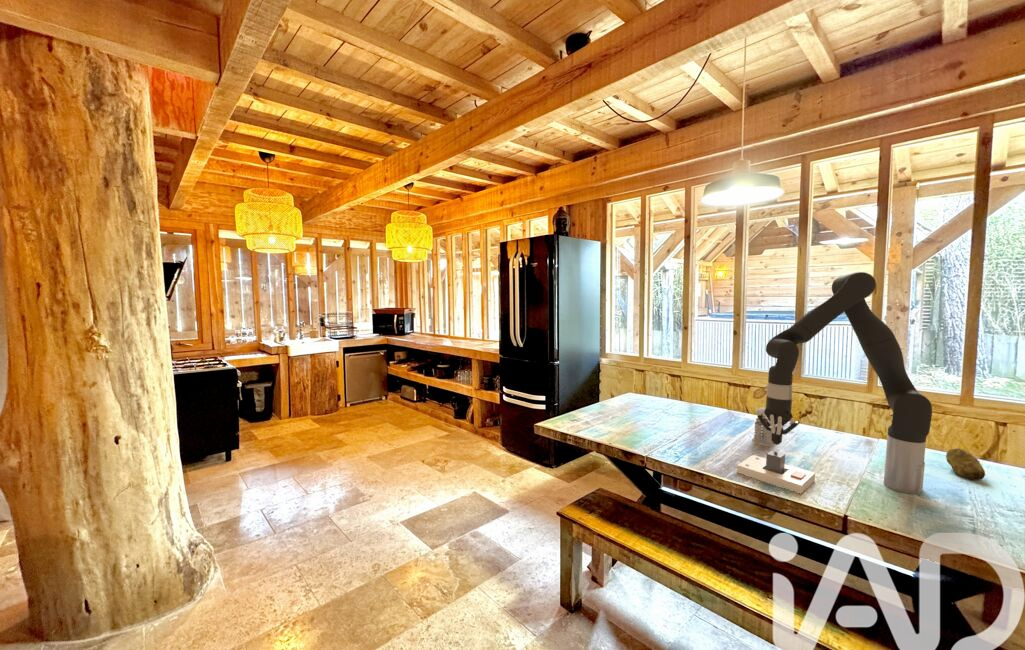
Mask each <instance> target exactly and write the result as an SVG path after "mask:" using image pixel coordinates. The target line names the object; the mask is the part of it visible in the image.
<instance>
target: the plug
mask: <svg viewBox="0 0 1025 650" xmlns="http://www.w3.org/2000/svg"><path fill="white" fill-rule="evenodd" d="M765 459H766V470H768V471H772V472H775V473H778V474H781V475H782V474H784V467H785V464H786V463H785V462H786V453H783V452H778V451H776V450H769V451H768V452H767V453H766V458H765Z"/></svg>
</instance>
